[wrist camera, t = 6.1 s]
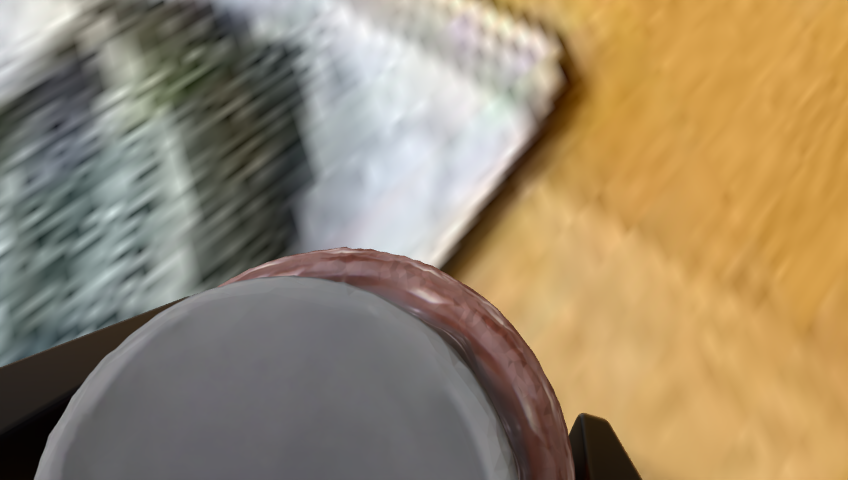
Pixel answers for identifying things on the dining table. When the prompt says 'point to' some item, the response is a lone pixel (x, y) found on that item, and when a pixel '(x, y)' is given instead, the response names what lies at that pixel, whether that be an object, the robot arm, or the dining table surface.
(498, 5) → the dining table surface
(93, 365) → the robot arm
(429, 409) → the supplement bottle
